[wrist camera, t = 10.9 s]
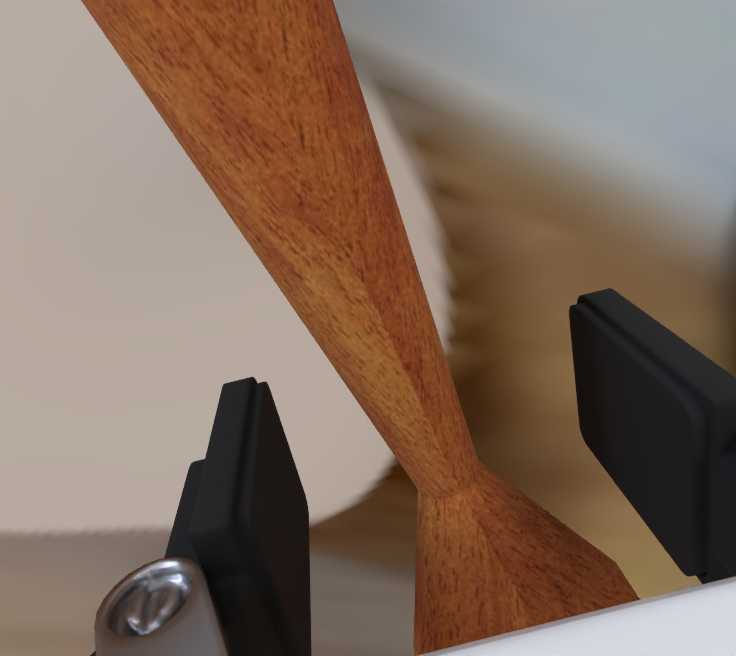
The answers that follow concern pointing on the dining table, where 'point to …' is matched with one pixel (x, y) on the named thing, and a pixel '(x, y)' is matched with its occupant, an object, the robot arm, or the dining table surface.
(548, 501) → the dining table surface
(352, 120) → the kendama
